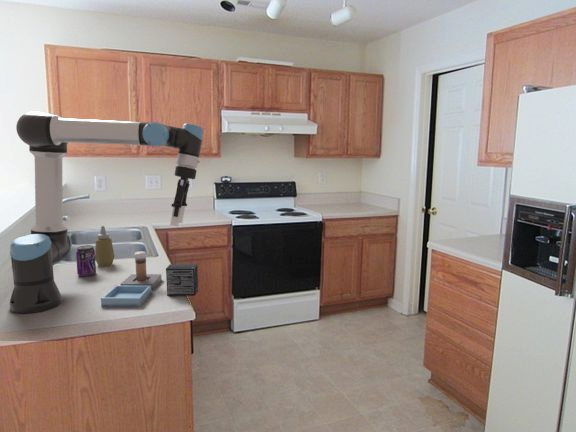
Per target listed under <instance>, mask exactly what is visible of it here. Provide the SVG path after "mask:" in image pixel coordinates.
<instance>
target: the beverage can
mask: <svg viewBox="0 0 576 432" xmlns="http://www.w3.org/2000/svg"><path fill="white" fill-rule="evenodd" d="M75 257H76V258H75V260H76V269H77V270H76V271H77V275H78V276H80V277H91V276H93V275H95V274H96V273H97V266H96V264H97V262H96V260H95V249H94V245H90V244H84V245H79V246H77V247H76V250H75Z"/></svg>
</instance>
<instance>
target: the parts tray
mask: <svg viewBox="0 0 576 432" xmlns="http://www.w3.org/2000/svg"><path fill="white" fill-rule="evenodd" d="M151 295H152V290H151V286H121V285H115V286H113V287H112V288H111V289H110V290H108V291H107V292H106V293H105V294H104V295H103V296H101V298H100V304H101V305H100V307H101V308H102V307H104V308H105V307H106V308H109V307H110V308H111V307H113V308H117V307H119V308H122V307H124V308H126V307H128V308H132V307H133V308H134V307H135V308H137V307H138V308H141V306H142V305H144V303H145V302H146V301H147V299H148V298H149V297H150V296H151Z"/></svg>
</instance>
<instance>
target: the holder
mask: <svg viewBox="0 0 576 432" xmlns="http://www.w3.org/2000/svg"><path fill="white" fill-rule="evenodd" d="M146 274H147V281H136V273H135V274H133V273H132V274H130V275H128V276H127V277H126V278H125V279H124V280H123V281H122V282H121V283H120V284H119V286H151V291H153V290H155V288H157V286H158V285H159V283H160V282H162V274H160V273H159V274H155V273H153V274H148V273H146Z"/></svg>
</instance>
